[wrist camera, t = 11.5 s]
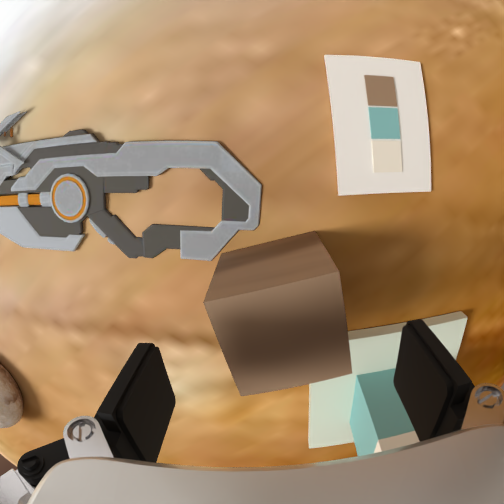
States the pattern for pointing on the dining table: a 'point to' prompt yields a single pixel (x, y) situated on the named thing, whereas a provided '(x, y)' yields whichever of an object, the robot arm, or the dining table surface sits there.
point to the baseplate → (367, 361)
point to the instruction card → (379, 125)
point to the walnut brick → (280, 314)
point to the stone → (9, 400)
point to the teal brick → (376, 411)
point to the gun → (114, 181)
